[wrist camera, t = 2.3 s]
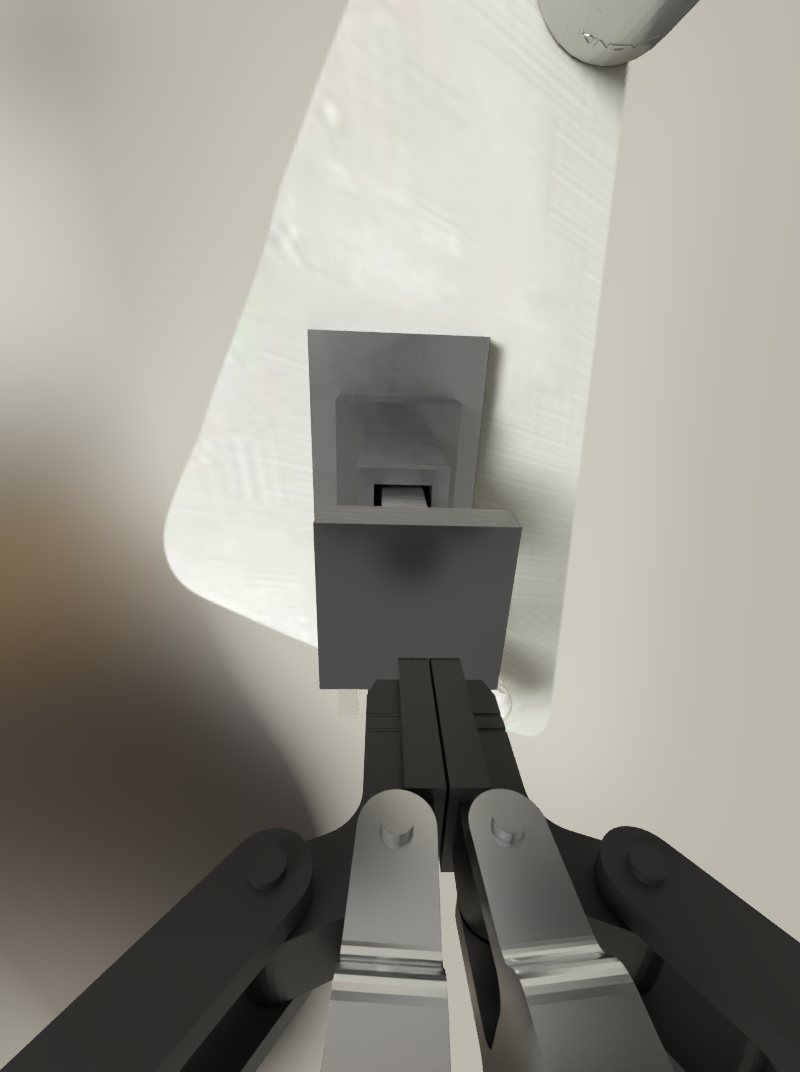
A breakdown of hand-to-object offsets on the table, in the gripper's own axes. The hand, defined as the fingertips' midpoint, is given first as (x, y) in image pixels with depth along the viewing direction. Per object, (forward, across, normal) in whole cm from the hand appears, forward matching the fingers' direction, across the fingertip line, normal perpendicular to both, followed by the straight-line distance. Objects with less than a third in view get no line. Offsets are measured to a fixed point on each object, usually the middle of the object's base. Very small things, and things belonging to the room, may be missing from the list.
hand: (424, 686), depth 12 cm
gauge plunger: (+15, 0, +2) cm, 15 cm away
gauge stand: (+26, 0, +2) cm, 26 cm away
